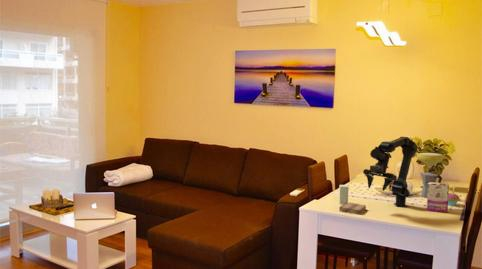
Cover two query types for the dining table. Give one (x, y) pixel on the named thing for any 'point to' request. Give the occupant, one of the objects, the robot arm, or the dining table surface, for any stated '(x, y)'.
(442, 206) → the candy bar box
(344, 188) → the sage block
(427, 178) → the coffeepot
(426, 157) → the cocktail glass
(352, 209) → the walnut base
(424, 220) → the dining table surface
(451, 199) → the cupcake
